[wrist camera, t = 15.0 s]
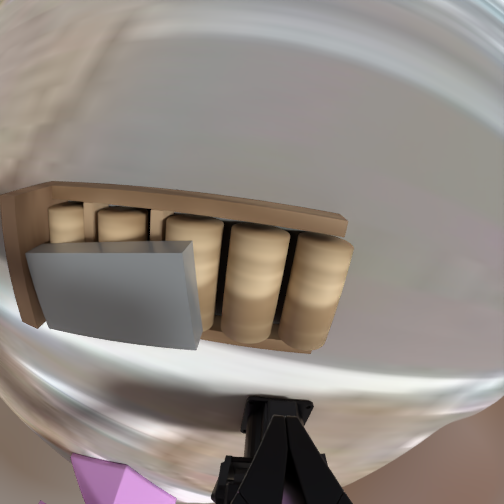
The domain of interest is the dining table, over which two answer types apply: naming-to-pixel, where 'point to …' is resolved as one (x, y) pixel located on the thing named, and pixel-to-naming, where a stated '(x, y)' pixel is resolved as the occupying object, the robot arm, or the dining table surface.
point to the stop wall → (26, 242)
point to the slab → (120, 291)
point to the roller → (122, 224)
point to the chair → (114, 483)
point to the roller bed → (232, 257)
